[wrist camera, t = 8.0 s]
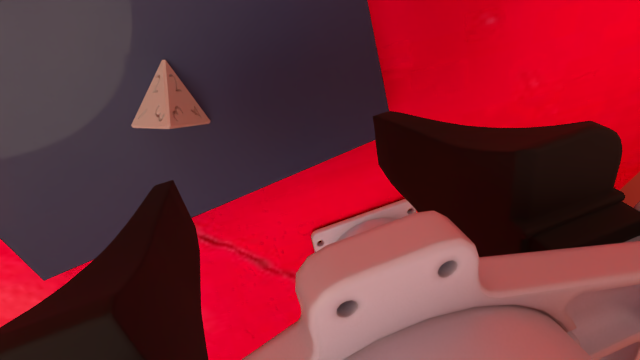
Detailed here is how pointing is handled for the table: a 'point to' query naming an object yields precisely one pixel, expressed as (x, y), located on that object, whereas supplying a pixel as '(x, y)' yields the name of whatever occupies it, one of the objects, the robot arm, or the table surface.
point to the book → (179, 143)
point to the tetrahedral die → (168, 103)
